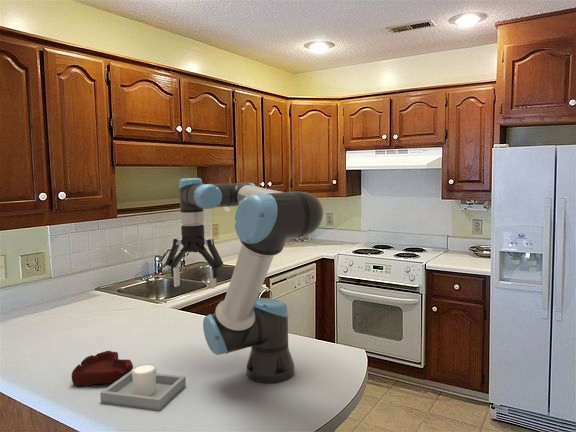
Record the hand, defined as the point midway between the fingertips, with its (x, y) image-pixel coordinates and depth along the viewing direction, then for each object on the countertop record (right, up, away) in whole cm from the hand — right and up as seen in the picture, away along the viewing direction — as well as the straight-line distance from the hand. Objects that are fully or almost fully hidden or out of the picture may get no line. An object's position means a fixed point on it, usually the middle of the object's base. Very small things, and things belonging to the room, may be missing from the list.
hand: (195, 286), depth 153 cm
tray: (-10, -27, -23) cm, 37 cm away
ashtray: (-27, -27, -12) cm, 40 cm away
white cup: (-10, -27, -23) cm, 37 cm away
